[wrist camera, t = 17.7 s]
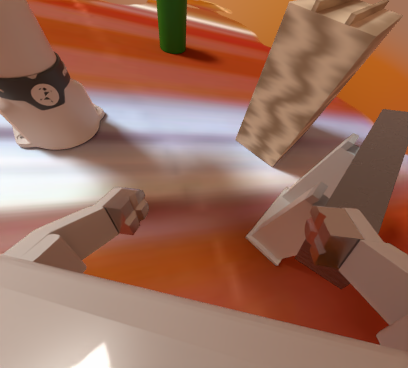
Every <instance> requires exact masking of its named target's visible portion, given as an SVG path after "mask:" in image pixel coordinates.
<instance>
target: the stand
mask: <svg viewBox="0 0 408 368" xmlns="http://www.w3.org/2000/svg"><path fill="white" fill-rule="evenodd" d="M388 2H389V0H383V1H381V2H378V3H376V4H373V5H371V4H368V3H366V2H363V1H360V0H297V1H292V2H289V4H288V7H287V9H286V12H285V15H284V17H283V20H282V22H281V25H280V27H279V30H278V32H277V35H276V38H275V40H274V43H273V45H272V48H271V50H270V53H269V55H268V58H267V60H266V63H265V66H264V68H263V71H262V73H261V76H260V78H259V81H258V83H257V86H256V89H255V91H254V94H253V96H252V99H251V101H250V104H249V106H248V109H247V112H246V114H245V117H244V119H243V122H242V124H241V127H240V129H239V132H238V134H237V137H236V141H238V142H239V143H240V144H242V145H243V146H244V147H246V148H247V149H248V150H250V151H251V152H252V153H254V154H255V155H256V156H258V157H259V158H260V159H262V160H263V161H264V162H266V163H267V164H268V165H270V166H271V167H273V166H274V165H275V164H276V163H277V161H278V160H279V159H280V158H281V157H282V156H283V155H284V154H285V153H286V152H287V151H288V150H289V149H290V148H291V147H292V146H293V145H294V144H295V143H296V142H297V141H298V140H299V139H300V138H301V137H302V136H303V135H304V133H305V132H306V131H307V130H308V129H309V128H310V126H311V125H312V124H313V123H314V122H315V120H316V119H317V118H318V117H319V116H320V114H321V113H322V112H323V111H324V110H325V108H326V107H327V106H328V105H329V104H330V103H331V101H332V100H333V99H334V98H335V97H336V95H337V94H338V93H339V92H340V90H341V89H342V88H343V87H344V86H345V85H346V83H347V82H348V81H349V80H350V79H351V77H352V76H353V75H354V74H355V72H356V71H357V70H358V69H359V68H360V67H361V65H362V64H363V63H364V62H365V61H366V59H367V58H368V57H369V56H370V55H371V53H372V52H373V51H374V50H375V49H376V47H377V46H378V45H379V44H380V43H381V41H382V40H383V39H384V38H385V36H386V35H387V34H388V33H389V32H390V31H391V30H392V28H393V27H394V26H395V24H397V22H398V21H399V20H400V19H401V18H402V15H400V14H397V13H394V12H392V11H389V10H386V9H384V7H385V6H386V5H387V3H388Z"/></svg>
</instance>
